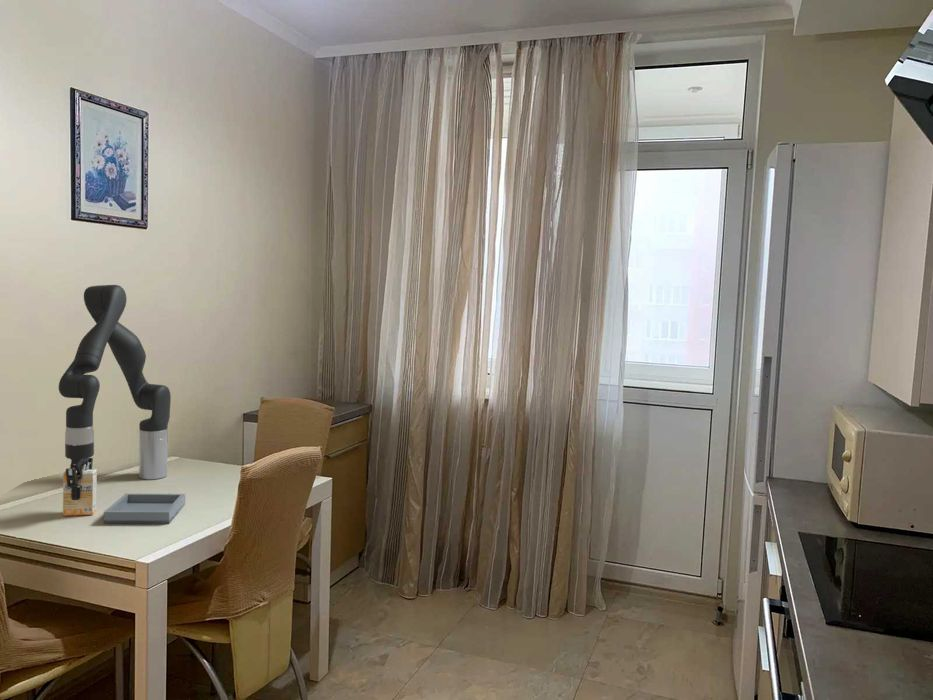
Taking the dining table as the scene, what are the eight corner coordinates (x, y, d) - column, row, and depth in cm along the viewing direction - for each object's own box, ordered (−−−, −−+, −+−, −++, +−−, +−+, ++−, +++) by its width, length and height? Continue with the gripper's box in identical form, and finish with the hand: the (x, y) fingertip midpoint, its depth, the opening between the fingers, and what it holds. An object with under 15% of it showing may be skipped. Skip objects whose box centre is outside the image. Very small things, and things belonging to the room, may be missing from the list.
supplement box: (62, 516, 209) (62, 473, 208) (66, 511, 213) (66, 469, 212) (93, 515, 211) (93, 472, 210) (96, 510, 216) (96, 468, 215)
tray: (125, 504, 223) (125, 493, 222) (185, 504, 225) (185, 493, 225) (104, 523, 205) (104, 512, 204) (169, 523, 207) (169, 512, 207)
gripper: (76, 435, 217) (76, 489, 218) (55, 446, 203) (55, 504, 204) (102, 436, 218) (102, 489, 219) (83, 446, 204) (83, 504, 205)
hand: (79, 496), depth 212 cm, fingers closed on supplement box, 5 cm apart
